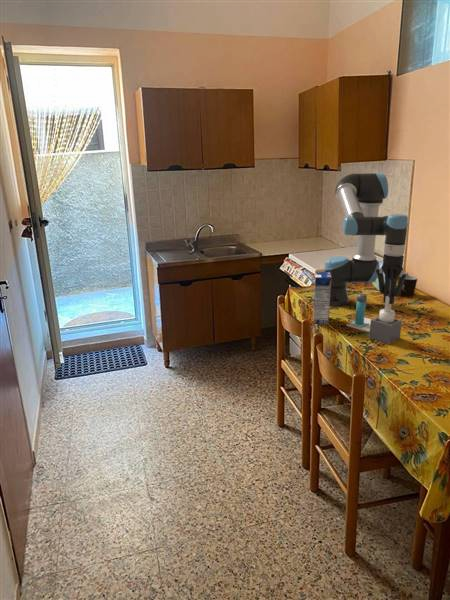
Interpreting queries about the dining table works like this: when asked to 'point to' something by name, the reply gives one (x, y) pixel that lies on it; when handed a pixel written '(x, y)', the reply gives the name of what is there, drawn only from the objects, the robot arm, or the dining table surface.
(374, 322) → the button console
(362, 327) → the white sorting board
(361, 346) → the dining table surface
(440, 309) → the dining table surface
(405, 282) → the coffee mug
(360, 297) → the marker
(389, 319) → the button
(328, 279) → the beverage box
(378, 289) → the snack box
